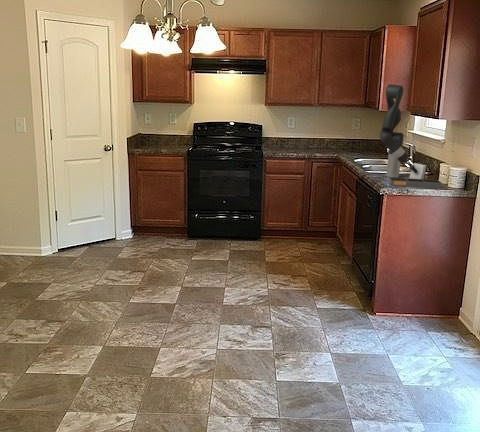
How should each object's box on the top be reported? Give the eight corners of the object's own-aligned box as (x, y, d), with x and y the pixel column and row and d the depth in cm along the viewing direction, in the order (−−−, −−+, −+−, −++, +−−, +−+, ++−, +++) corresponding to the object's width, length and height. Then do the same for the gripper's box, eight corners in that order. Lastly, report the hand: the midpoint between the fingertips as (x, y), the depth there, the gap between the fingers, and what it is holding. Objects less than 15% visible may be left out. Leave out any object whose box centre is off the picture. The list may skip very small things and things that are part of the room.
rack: (388, 183, 362) (388, 177, 361) (437, 185, 358) (437, 179, 357) (390, 186, 350) (391, 180, 349) (441, 188, 346) (442, 183, 345)
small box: (422, 183, 366) (426, 165, 362) (419, 184, 361) (423, 166, 357) (411, 180, 370) (415, 162, 366) (408, 181, 365) (412, 163, 361)
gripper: (406, 152, 354) (421, 169, 356) (402, 149, 368) (417, 166, 370) (398, 159, 356) (413, 176, 358) (394, 156, 370) (409, 173, 372)
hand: (415, 171), depth 364 cm, fingers open, 8 cm apart
